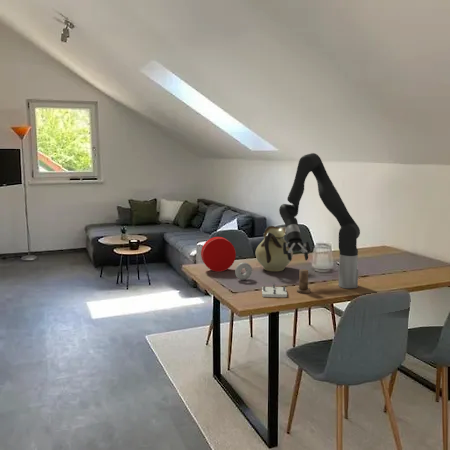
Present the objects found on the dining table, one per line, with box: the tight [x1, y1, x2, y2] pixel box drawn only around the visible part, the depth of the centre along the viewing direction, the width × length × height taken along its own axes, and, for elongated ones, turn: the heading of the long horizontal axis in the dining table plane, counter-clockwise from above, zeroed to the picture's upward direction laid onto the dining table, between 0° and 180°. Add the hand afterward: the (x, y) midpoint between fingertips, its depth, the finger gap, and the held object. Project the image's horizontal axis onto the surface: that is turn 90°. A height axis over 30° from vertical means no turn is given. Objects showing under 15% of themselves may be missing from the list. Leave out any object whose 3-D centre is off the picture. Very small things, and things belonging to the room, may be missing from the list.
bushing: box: [296, 268, 311, 294], centre depth 237 cm, size 7×7×11 cm
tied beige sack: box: [254, 225, 294, 272], centre depth 281 cm, size 22×24×25 cm
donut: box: [234, 262, 253, 281], centre depth 259 cm, size 10×4×10 cm, turn 113°
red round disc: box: [200, 236, 237, 273], centre depth 279 cm, size 20×6×20 cm, turn 103°
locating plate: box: [261, 283, 288, 298], centre depth 235 cm, size 12×12×4 cm
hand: (298, 259), depth 246 cm, fingers open, 8 cm apart
